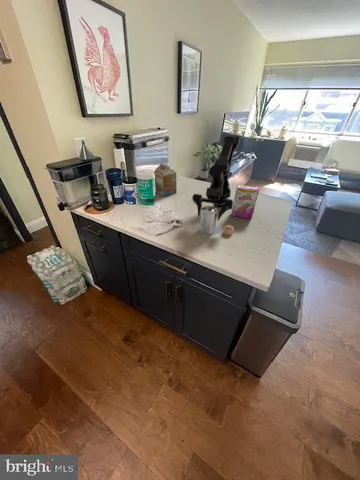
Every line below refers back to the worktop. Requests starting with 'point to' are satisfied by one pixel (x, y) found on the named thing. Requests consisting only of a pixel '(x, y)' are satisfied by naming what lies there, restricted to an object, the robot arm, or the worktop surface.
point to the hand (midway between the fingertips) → (208, 218)
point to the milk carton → (165, 180)
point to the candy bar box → (244, 201)
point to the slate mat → (210, 234)
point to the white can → (208, 220)
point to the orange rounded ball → (228, 230)
